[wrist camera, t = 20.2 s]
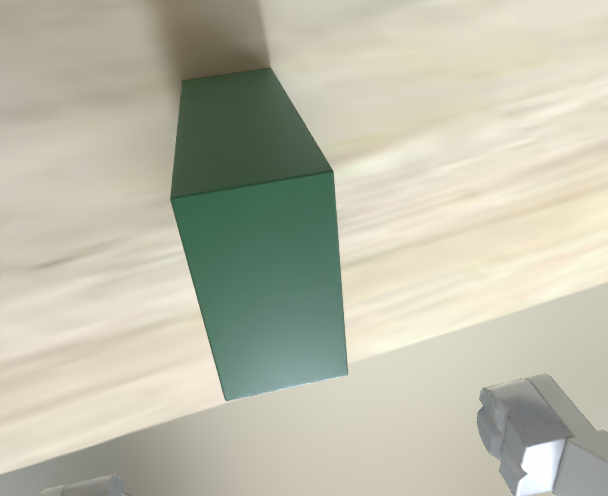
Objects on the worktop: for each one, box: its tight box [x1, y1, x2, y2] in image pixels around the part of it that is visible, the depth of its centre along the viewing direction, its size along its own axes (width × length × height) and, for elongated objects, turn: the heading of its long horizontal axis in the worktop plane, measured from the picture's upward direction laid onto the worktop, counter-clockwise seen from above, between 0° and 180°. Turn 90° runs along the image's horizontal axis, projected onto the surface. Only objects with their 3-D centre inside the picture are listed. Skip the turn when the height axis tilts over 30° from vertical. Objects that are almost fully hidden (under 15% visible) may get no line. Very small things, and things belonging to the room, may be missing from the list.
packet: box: [170, 68, 348, 401], centre depth 24 cm, size 15×5×9 cm
